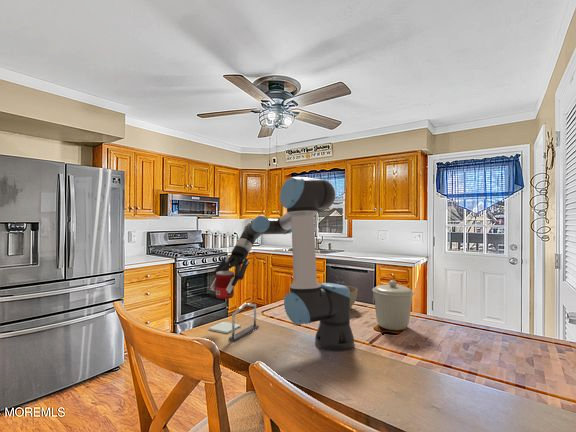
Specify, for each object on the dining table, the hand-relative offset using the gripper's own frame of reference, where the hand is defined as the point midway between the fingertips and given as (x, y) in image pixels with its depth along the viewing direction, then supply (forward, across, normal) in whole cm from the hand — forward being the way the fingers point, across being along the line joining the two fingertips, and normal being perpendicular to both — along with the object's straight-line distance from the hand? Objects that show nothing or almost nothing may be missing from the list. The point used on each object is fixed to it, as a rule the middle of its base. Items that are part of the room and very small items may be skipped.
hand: (219, 290), depth 141 cm
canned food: (0, 0, -5) cm, 5 cm away
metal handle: (+11, -12, -13) cm, 21 cm away
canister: (-16, -66, -41) cm, 80 cm away
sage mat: (+10, -1, -14) cm, 18 cm away
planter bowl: (-28, -37, -53) cm, 71 cm away
